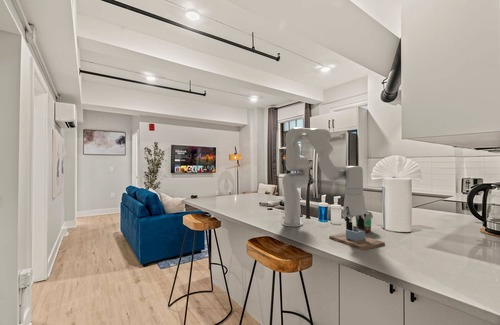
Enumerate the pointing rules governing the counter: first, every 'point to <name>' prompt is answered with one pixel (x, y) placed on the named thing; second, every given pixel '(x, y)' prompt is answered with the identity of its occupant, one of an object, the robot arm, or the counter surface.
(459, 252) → the counter surface
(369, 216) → the food container
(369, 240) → the shaft stand
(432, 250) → the counter surface
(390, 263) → the counter surface
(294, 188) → the robot arm
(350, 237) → the collar
